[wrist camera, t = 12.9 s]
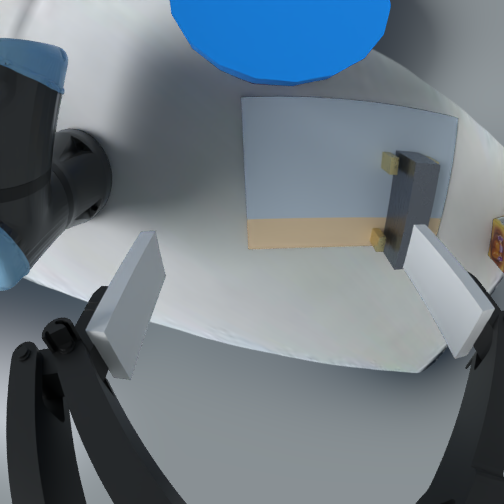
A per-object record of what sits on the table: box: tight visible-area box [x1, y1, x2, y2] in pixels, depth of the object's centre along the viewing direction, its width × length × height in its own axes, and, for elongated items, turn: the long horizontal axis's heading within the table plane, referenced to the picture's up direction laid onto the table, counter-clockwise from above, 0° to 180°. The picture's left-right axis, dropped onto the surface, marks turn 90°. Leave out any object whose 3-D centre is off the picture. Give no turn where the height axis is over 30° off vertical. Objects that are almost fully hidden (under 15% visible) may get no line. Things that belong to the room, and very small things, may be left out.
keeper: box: [370, 152, 439, 252], centre depth 39 cm, size 8×14×3 cm, turn 2°
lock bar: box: [383, 150, 441, 270], centre depth 38 cm, size 16×4×6 cm, turn 2°
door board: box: [241, 96, 458, 249], centre depth 39 cm, size 32×22×1 cm
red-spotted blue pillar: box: [170, 0, 391, 86], centre depth 19 cm, size 11×11×25 cm
